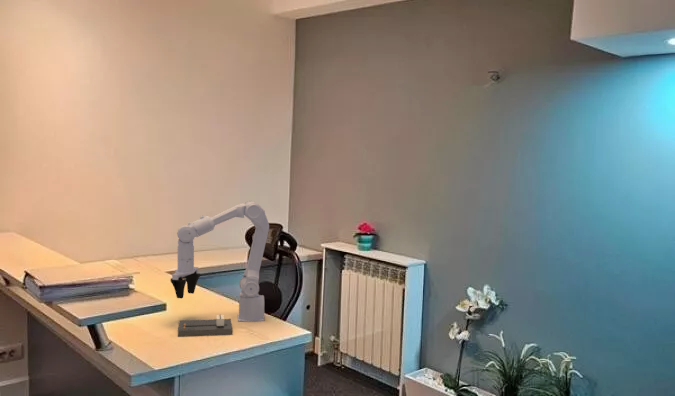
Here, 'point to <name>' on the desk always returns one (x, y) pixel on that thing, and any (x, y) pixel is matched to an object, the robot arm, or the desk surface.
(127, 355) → the desk surface
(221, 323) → the fader knob
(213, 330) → the fader console
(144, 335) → the desk surface
